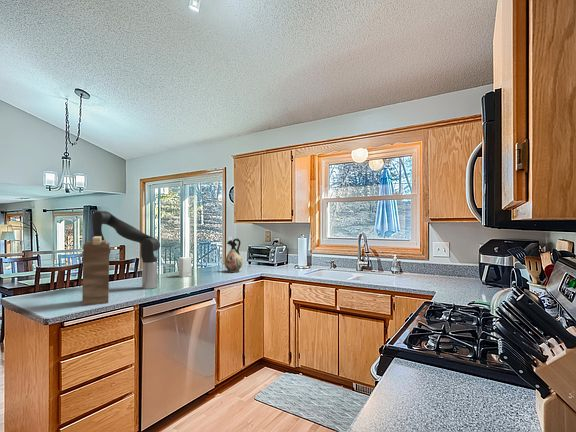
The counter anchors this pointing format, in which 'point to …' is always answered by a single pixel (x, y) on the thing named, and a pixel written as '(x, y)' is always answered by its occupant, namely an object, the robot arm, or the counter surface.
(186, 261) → the skincare box
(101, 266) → the walnut stand
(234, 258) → the ceramic jug
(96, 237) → the beech bar
